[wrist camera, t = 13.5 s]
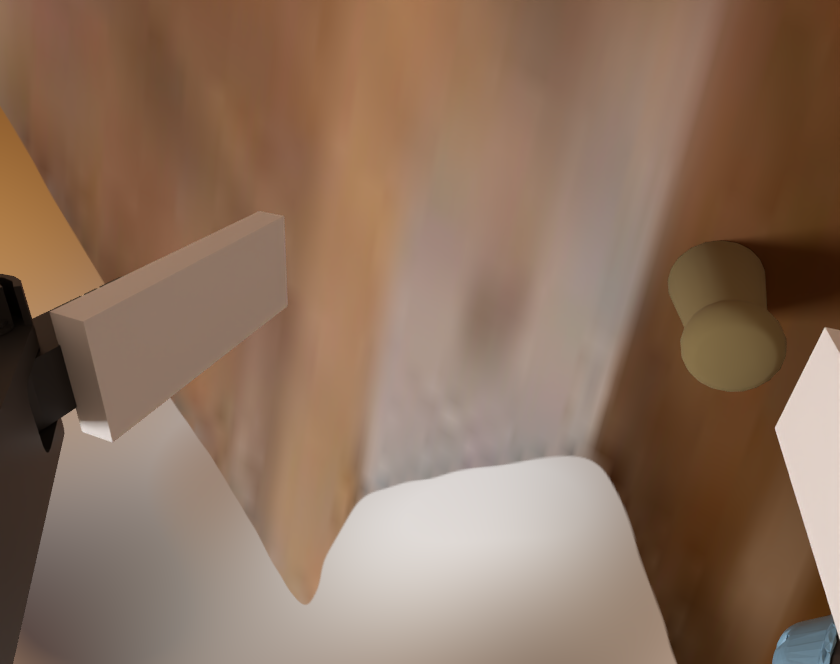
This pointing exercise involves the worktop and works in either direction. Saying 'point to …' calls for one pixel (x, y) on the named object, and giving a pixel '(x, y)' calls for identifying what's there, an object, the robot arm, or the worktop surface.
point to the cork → (726, 317)
